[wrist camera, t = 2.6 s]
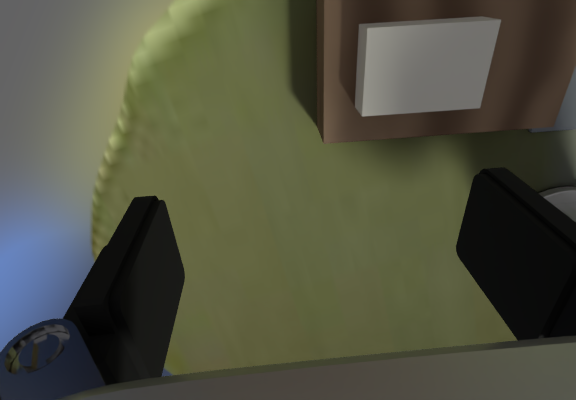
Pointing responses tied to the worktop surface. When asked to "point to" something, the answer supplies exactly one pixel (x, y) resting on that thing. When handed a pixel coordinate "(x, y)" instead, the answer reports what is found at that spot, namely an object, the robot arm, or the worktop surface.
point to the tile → (423, 65)
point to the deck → (500, 82)
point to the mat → (565, 110)
